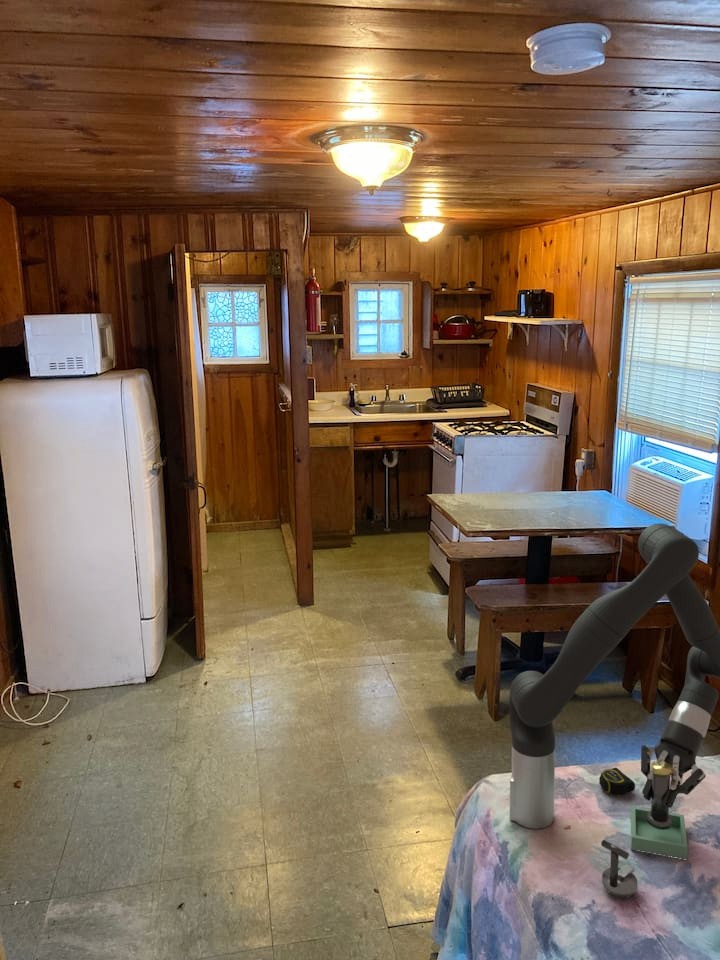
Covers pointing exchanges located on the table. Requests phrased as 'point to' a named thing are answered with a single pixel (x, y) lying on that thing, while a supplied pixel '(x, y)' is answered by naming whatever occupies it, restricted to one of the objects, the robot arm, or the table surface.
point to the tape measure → (616, 782)
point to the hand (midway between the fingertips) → (655, 802)
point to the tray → (658, 835)
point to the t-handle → (618, 874)
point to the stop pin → (660, 796)
